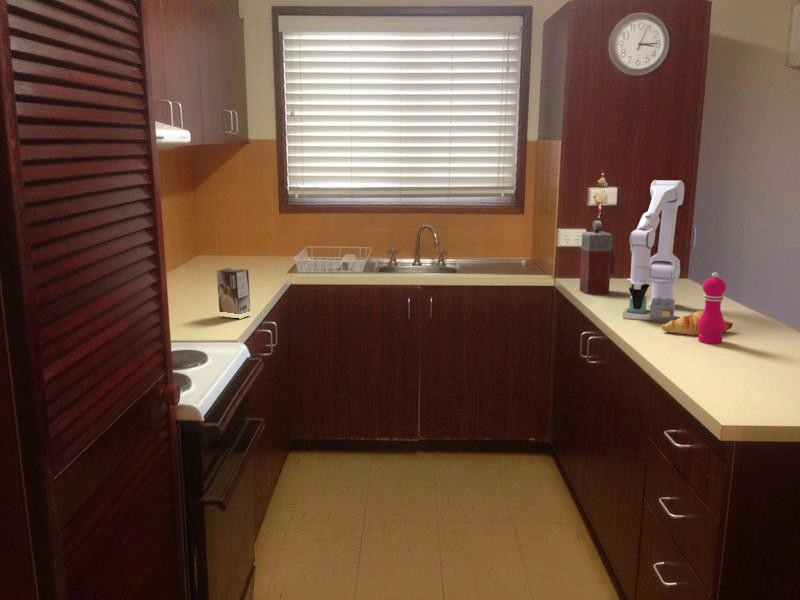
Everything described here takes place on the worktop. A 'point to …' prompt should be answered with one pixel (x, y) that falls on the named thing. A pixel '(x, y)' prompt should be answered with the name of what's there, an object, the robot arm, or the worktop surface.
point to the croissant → (688, 324)
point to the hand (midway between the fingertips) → (638, 307)
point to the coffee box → (233, 291)
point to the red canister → (596, 261)
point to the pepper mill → (712, 311)
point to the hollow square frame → (655, 311)
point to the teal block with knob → (640, 311)
